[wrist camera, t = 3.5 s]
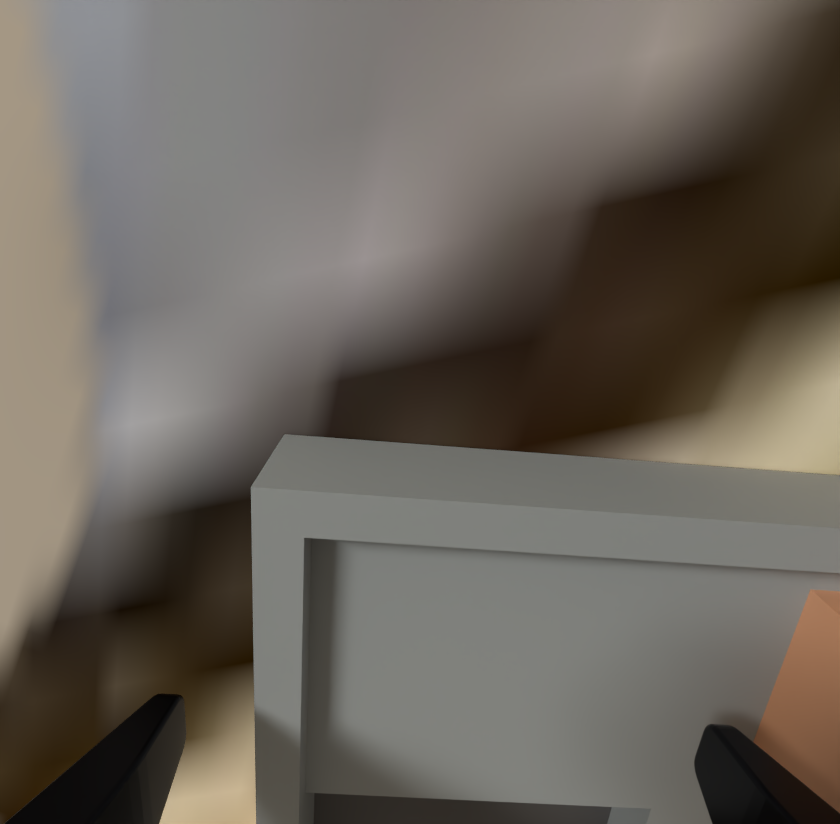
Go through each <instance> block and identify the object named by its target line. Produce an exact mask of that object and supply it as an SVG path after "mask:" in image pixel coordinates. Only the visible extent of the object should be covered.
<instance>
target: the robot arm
mask: <svg viewBox="0 0 840 824" xmlns="http://www.w3.org/2000/svg"><path fill="white" fill-rule="evenodd" d="M185 740H186V721H185V707H184V699H183V697H182V696H181V695H177V694H157V695H155V696H153V697H152V698H151V699H150V700H148V701H147V702H146V703H145V704H144V705H143V706H141V707H140V708H139V709H138V710H137V711H136V712H134V713H133V714H132V715H131V716H130V717H128V718H127V719H126V720H125V721H124V722H123V723H121V724H120V725H119V726H118V727H117V728H116V729H114V730H113V731H112V732H111V733H110V734H109V735H107V736H106V737H105V738H104V739H103V740H102V741H100V742H99V743H98V744H97V745H96V746H95V747H93V748H92V749H91V750H90V751H89V752H88V753H86V754H85V755H84V756H83V757H82V758H80V759H79V760H78V761H77V762H76V763H75V764H73V765H72V766H71V767H70V768H69V769H68V770H66V771H65V772H64V773H63V774H62V775H61V776H59V777H58V778H57V779H56V780H55V781H54V782H52V783H51V784H50V785H49V786H48V787H47V788H45V789H44V790H43V791H42V792H41V793H40V794H38V795H37V796H36V797H35V798H34V799H32V800H31V801H30V802H29V803H28V804H27V805H25V806H24V807H23V808H22V809H21V810H20V811H18V812H17V813H16V814H15V815H14V816H13V817H11V818H10V819H9V820H8V821H7V822H6V823H4V824H159V822H160V819H161V816H162V813H163V810H164V807H165V804H166V801H167V798H168V794H169V791H170V788H171V785H172V782H173V779H174V776H175V773H176V770H177V767H178V764H179V761H180V758H181V755H182V752H183V749H184V745H185ZM694 768H695V773H696V777H697V780H698V783H699V786H700V789H701V792H702V795H703V798H704V801H705V804H706V807H707V810H708V813H709V816H710V819H711V822H712V824H840V813H839V812H838V811H836V810H835V809H834V808H833V807H832V806H830V805H829V804H828V803H827V802H826V801H824V800H823V799H822V798H821V797H819V796H818V795H817V794H816V793H815V792H813V791H812V790H811V789H810V788H809V787H807V786H806V785H805V784H804V783H802V782H801V781H800V780H799V779H798V778H796V777H795V776H794V775H793V774H792V773H790V772H789V771H788V770H787V769H786V768H784V767H783V766H782V765H781V764H779V763H778V762H777V761H776V760H775V759H773V758H772V757H771V756H770V755H769V754H767V753H766V752H765V751H764V750H762V749H761V748H760V747H759V746H758V745H756V744H755V743H754V742H753V741H752V740H750V739H749V738H748V737H747V736H745V735H744V734H743V733H742V732H741V731H739V730H738V729H737V728H735V727H733V726H731V725H724V724H708V725H707V726H706V727H705V729H704V731H703V734H702V737H701V740H700V743H699V746H698V749H697V752H696V755H695V759H694Z"/></svg>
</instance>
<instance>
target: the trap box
mask: <svg viewBox="0 0 840 824" xmlns="http://www.w3.org/2000/svg"><path fill="white" fill-rule="evenodd" d="M251 521H252V583H253V645H254V707H255V769H256V824H712V822H711V819H710V816H709V813H708V810H707V807H706V804H705V801H704V798H703V795H702V792H701V789H700V786H699V783H698V780H697V777H696V773H695V768H694V759H695V755H696V752H697V749H698V746H699V743H700V740H701V737H702V734H703V731H704V729H705V727H706V726H707V725H708V724H724V725H731V726H733V727H735V728H737V729H738V730H739V731H741V732H742V733H743V734H744V735H745V736H747V737H748V738H749V739H750V740H752V741H754V738H755V736H756V733H757V730H758V728H759V725H760V722H761V720H762V717H763V714H764V712H765V709H766V706H767V704H768V701H769V698H770V696H771V693H772V690H773V688H774V685H775V682H776V680H777V677H778V674H779V672H780V669H781V666H782V664H783V661H784V658H785V656H786V653H787V650H788V648H789V645H790V642H791V640H792V637H793V634H794V632H795V629H796V626H797V624H798V621H799V618H800V616H801V613H802V610H803V608H804V605H805V602H806V600H807V597H808V594H809V592H810V589H812V590H827V591H840V475H827V474H813V473H800V472H786V471H773V470H759V469H746V468H732V467H719V466H705V465H692V464H678V463H665V462H651V461H638V460H624V459H611V458H597V457H584V456H570V455H557V454H543V453H530V452H516V451H503V450H490V449H476V448H463V447H449V446H436V445H422V444H409V443H395V442H382V441H368V440H355V439H341V438H328V437H314V436H301V435H287V434H284V436H283V437H282V439H281V441H280V442H279V444H278V445H277V447H276V448H275V450H274V452H273V453H272V455H271V456H270V458H269V460H268V461H267V463H266V464H265V466H264V467H263V469H262V471H261V472H260V474H259V475H258V477H257V478H256V480H255V482H254V483H253V485H252V486H251Z"/></svg>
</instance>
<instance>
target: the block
mask: <svg viewBox="0 0 840 824" xmlns="http://www.w3.org/2000/svg"><path fill="white" fill-rule="evenodd" d="M753 742H754V743H755V744H756V745H758V746H759V747H760V748H761V749H762V750H764V751H765V752H766V753H767V754H769V755H770V756H771V757H772V758H773V759H775V760H776V761H777V762H778V763H779V764H781V765H782V766H783V767H784V768H786V769H787V770H788V771H789V772H790V773H792V774H793V775H794V776H795V777H796V778H798V779H799V780H800V781H801V782H802V783H804V784H805V785H806V786H807V787H809V788H810V789H811V790H812V791H813V792H815V793H816V794H817V795H818V796H819V797H821V798H822V799H823V800H824V801H826V802H827V803H828V804H829V805H830V806H832V807H833V808H834V809H835V810H836V811H838V812H839V813H840V591H827V590H812V589H810V592H809V594H808V597H807V600H806V602H805V605H804V608H803V610H802V613H801V616H800V618H799V621H798V624H797V626H796V629H795V632H794V634H793V637H792V640H791V642H790V645H789V648H788V650H787V653H786V656H785V658H784V661H783V664H782V666H781V669H780V672H779V674H778V677H777V680H776V682H775V685H774V688H773V690H772V693H771V696H770V698H769V701H768V704H767V706H766V709H765V712H764V714H763V717H762V720H761V722H760V725H759V728H758V730H757V733H756V736H755V738H754V741H753Z"/></svg>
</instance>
